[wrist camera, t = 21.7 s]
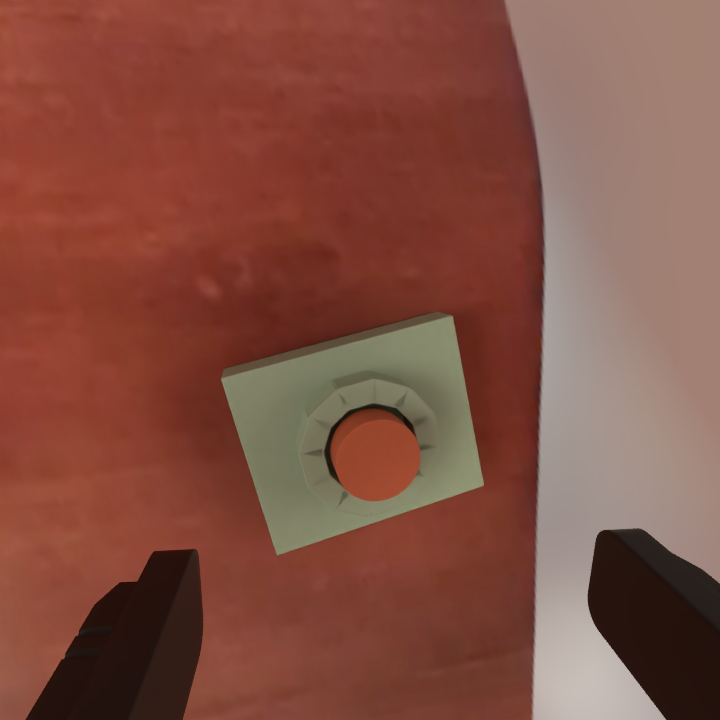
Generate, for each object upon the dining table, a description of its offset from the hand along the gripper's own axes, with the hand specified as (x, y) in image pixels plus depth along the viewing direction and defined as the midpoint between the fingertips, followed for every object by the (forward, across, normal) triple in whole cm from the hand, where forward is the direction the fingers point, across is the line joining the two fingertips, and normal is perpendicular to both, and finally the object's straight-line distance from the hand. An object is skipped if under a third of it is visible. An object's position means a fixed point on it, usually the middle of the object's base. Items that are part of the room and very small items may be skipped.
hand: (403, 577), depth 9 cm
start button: (+13, -1, +3) cm, 14 cm away
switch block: (+17, -1, +3) cm, 17 cm away
